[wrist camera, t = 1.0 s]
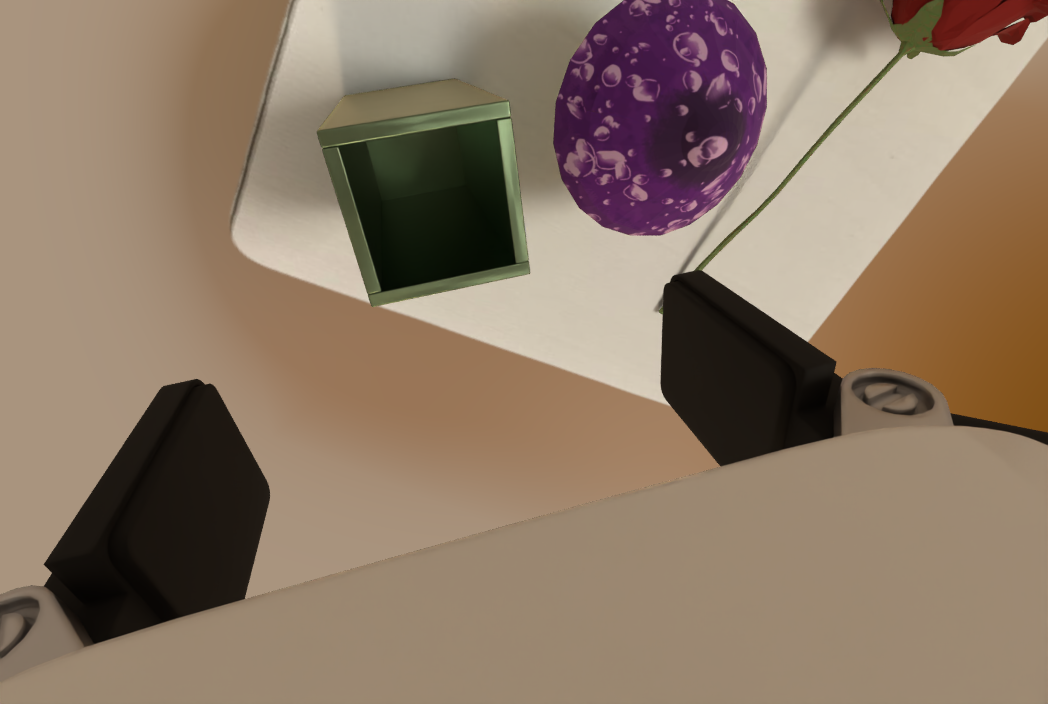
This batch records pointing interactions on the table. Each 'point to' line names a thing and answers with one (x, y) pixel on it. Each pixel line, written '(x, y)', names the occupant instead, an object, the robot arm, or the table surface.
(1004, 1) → the flower
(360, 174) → the box
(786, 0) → the table surface
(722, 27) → the decorative mushroom
